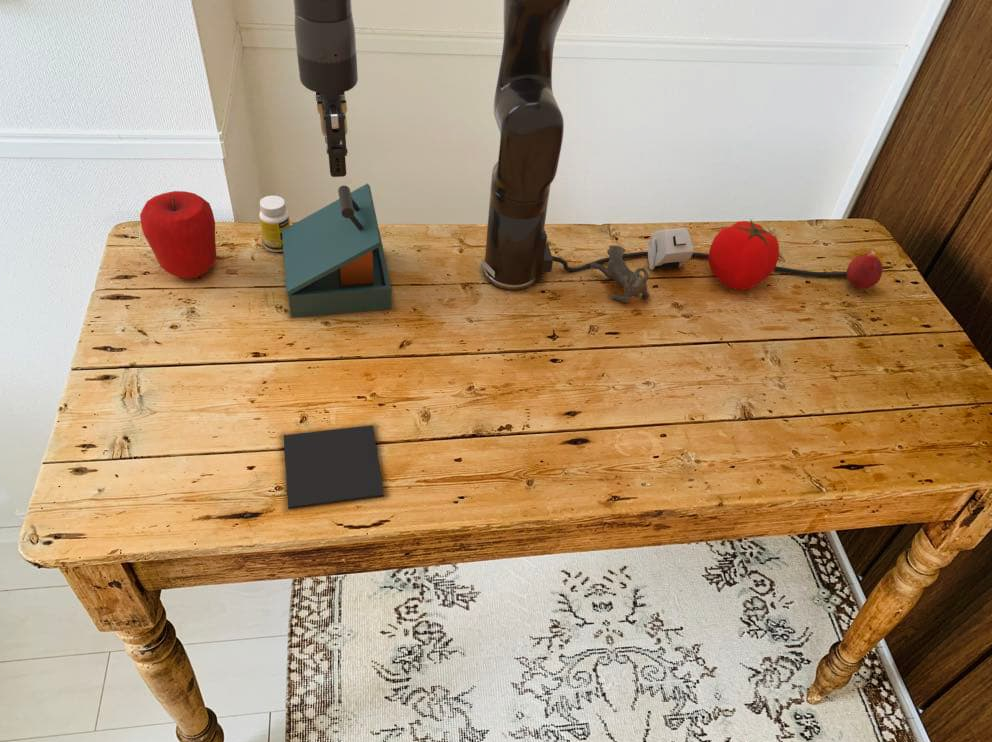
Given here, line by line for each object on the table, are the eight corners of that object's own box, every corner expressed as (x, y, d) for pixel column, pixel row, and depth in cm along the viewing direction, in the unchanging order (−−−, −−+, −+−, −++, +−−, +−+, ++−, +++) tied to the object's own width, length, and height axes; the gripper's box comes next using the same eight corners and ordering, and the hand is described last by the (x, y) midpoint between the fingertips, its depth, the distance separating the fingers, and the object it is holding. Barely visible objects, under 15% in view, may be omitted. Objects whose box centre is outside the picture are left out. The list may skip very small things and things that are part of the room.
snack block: (370, 267, 134) (369, 233, 129) (373, 283, 132) (372, 248, 127) (338, 270, 133) (336, 235, 128) (341, 285, 131) (338, 250, 125)
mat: (373, 426, 112) (372, 424, 112) (383, 496, 105) (383, 494, 105) (283, 436, 110) (283, 434, 109) (288, 508, 102) (288, 507, 102)
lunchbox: (379, 249, 139) (379, 229, 136) (391, 309, 129) (391, 288, 126) (286, 255, 136) (283, 234, 132) (291, 317, 126) (288, 296, 122)
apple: (217, 244, 136) (201, 172, 126) (230, 281, 130) (215, 209, 120) (150, 255, 132) (129, 183, 122) (160, 294, 126) (139, 221, 116)
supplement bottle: (285, 255, 135) (280, 213, 129) (259, 249, 136) (251, 207, 130) (296, 239, 139) (291, 197, 133) (270, 233, 139) (264, 191, 133)
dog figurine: (653, 305, 137) (663, 270, 131) (625, 313, 134) (634, 278, 129) (614, 263, 143) (622, 229, 138) (587, 271, 141) (594, 236, 136)
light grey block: (644, 273, 145) (668, 261, 136) (639, 237, 145) (662, 222, 136) (674, 270, 147) (700, 258, 137) (668, 234, 147) (694, 220, 137)
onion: (874, 284, 147) (893, 249, 141) (869, 302, 144) (889, 266, 138) (842, 273, 149) (860, 238, 143) (837, 291, 145) (855, 255, 139)
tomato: (708, 297, 140) (726, 245, 131) (697, 256, 147) (714, 204, 139) (774, 302, 141) (797, 250, 133) (760, 261, 148) (780, 210, 140)
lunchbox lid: (370, 186, 130) (351, 161, 126) (382, 245, 120) (362, 220, 116) (284, 233, 132) (263, 210, 128) (289, 295, 122) (266, 272, 118)
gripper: (361, 72, 100) (367, 185, 112) (350, 22, 109) (357, 132, 121) (299, 73, 99) (312, 188, 111) (293, 23, 108) (305, 134, 120)
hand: (335, 159), depth 116 cm, fingers open, 8 cm apart
